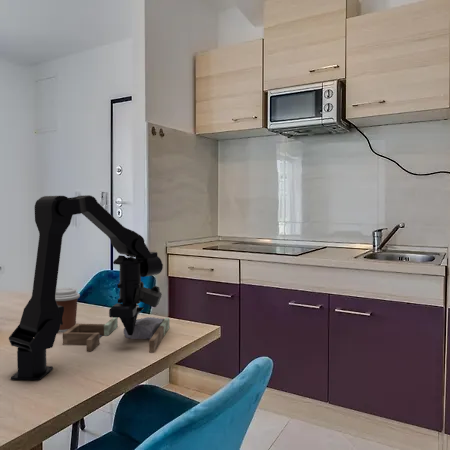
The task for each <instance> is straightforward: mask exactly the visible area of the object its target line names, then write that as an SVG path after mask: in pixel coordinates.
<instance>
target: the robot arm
mask: <svg viewBox="0 0 450 450" xmlns="http://www.w3.org/2000/svg"><path fill="white" fill-rule="evenodd" d="M81 214H82V215H83V216H84V217H86V219H87V220H89V221H90V222H91V223H92V224H93V225H94V226H96V227H97V229H99V230H100V231H101V232H102V233H104V234H105V235H106V236H107V237H108V238H109V240H110V244H111V246H112V247H113V248H114V249H115V250H116V252H117V253H118V254H119V255H118V256H117V258H116V259H114V260H113V263H112V264H113V265H118V266H119V283H118V284H117V289H119V298H118V299H117V303H115V304H114V305H112V306H111V307H110V308H109V309H108V314H109V315H108V318H113V317H116V318H118V319H119V320H120V321H121V323H122V325H123V327H124V328H125V329H126V331H127V333H128V335H133V332H134V328H135V323H136V320H137V318H138V315H140V313H141V312H142V311H143V310H144V307H142V306H140V305H139V304H140V303H143V304H145V305H149V306H150V307H153V308H157V306H158V305H160V304H159V303H160V301H161V298H162V296H163V294H162V292H161V290H160V287H159V286H157V285H154V286H153V287H151V288H149V287H144V286H145V284H144V282H143V281H142V278H146V277H150V276H156V275H159V274H161V273H162V271H163V268H164V264H163V261H162V259H161V258H160V257H159V256H158V252H157V251H156V252H155V251H150V250H149V248H148V246H147V245H146V243H145V239H144V237H143V236H142V235H141V234H139V233H137V232H136V231H134V230H131V229H129V228H126V227H125V226H124V225H123V224H121V223H120V222H119V221H118V220H117V219H116V218H115V217H114V216H113V215H112V214H111V213H110V212H109V211H108V210H107V209H105V207H103V206H102V205H101V204H100V203H99V202H98V200H97V199H96V198H95V197H94V196H92V195H77V196H74V197H68V196H66V195H44V196H41V197H40V198H38V199H36V200H35V203H34V222H35V226H36V227H37V230H38V233H39V235H38V245H37V252H36V260H35V261H36V262H35V268H34V275H33V276H34V277H33V284H32V292H31V296H30V299H29V301H28V302H27V303H26V305H25V307H24V308H23V311H22V315H21V319H20V322H19V324H18V326H16V328H15V329H14V331H13V332H12V333H11V334H10V336H9V337H8V341H9V343H10V346H11V347H16V348H17V351H16V354H17V356H16V358H17V363H16V364H17V371H16V372H15V373H14V374H13V375H11V376H10V380H13V381H15V380H17V381H18V380H19V381H20V380H21V381H40V380H41V379H43V378H44V377H45V376H46V375H47V374H48V373H50V372H51V371H52V370H53V369H54V367H53V366H48V365H47V350H49V349H51V348H53V347H54V344H55V340H56V337H57V335H58V333H60V332H59V329H60V325H63V322H62V316H63V312H64V307H63V306H59V305H57V302H56V299H55V295H56V289H57V285H58V276H59V267H60V262H61V261H60V259H61V252H62V244H63V236H64V234H65V232H67V229H68V228H69V226H70V225H71V222H72V219H73V216H75V215H81Z"/></svg>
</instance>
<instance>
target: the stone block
mask: <svg viewBox="0 0 450 450" xmlns="http://www.w3.org/2000/svg"><path fill="white" fill-rule="evenodd" d="M164 319H165V318H159V317H143V318H138V319H136V323H135V328H134V332H133V335H128V333H127V331H126V329H125V327H124V328H123V334H124V335H123V336H124V337H125V338H127V339H137V340H138V339H140V340H150V339H151V338H152V336H153V335H154V333H155V332H156V331H157V329H158V328H159V326H160V325H161V324H162V322H163V321H164Z"/></svg>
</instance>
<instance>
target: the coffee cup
mask: <svg viewBox="0 0 450 450" xmlns="http://www.w3.org/2000/svg"><path fill="white" fill-rule="evenodd" d="M80 297H81V294H80V293H79V292H78V291H77V288H75V287H59V288H56V295H55V299H56V302H57V305H59V306H63V307H64V312H63V316H62V322H63V325H60V329H59V332H58V333H64V332H66V331H67V330H69V329H70V328H71V327H73V326H74V325H76V324H77V313H78V311H77V310H78V299H79V298H80Z"/></svg>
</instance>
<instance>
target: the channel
mask: <svg viewBox="0 0 450 450" xmlns="http://www.w3.org/2000/svg"><path fill="white" fill-rule="evenodd" d="M118 319H119V318H116V317H111V318H110V320H109V321H107V322H106V323H76V325H74V326H73V327H71V328H70V329H69V330H67V331H66V332H62V345H63V346H66V345H67V346H69V345H70V346H71V345H73V346H75V345H76V346H86V352H92V351H93V350H94V349H95V348H96V347H98V346H99V345H100V339H101V338H102V337H103V336H105V337H107V336H110V335H111V334H112V333H113V332H114V331H115V330H116V329H117V328H118V325H119V324H118V323H119V322H118ZM169 329H170V317H165V318H164V321H163V322H162V324H161V325H160V326H159V328H158V329H157V331H156V332H155V333H154V335H153V336H152V338H151V339H148V345H149V346H148V351H149V353H155V352H156V350H157V348H158V347H159V345H160V343H161V342H162V340H163V339H164V337H165V335H166V334H167V333H168V331H169Z"/></svg>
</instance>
